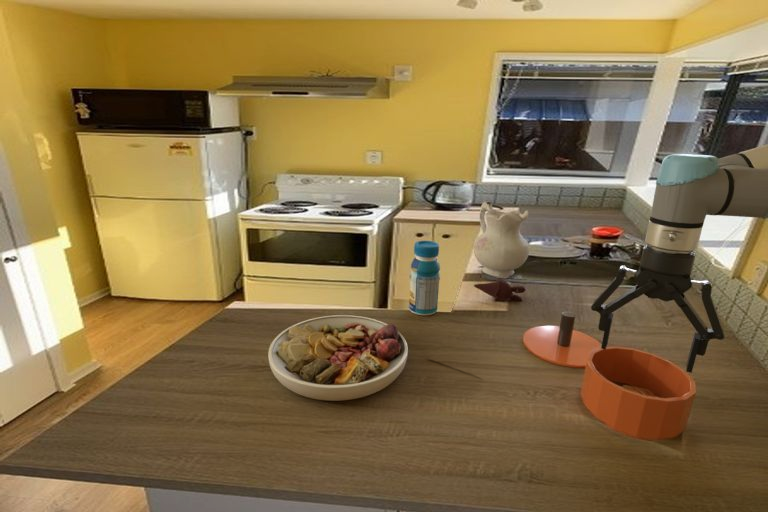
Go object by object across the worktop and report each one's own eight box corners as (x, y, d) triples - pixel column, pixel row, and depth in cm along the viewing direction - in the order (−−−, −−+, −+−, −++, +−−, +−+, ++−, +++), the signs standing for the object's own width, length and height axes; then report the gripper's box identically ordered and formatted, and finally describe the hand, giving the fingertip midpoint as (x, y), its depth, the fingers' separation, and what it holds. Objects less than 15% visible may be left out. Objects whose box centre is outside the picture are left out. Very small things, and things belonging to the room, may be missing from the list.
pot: (684, 402, 85) (695, 365, 82) (683, 456, 71) (696, 414, 68) (589, 372, 94) (596, 338, 91) (572, 415, 80) (579, 376, 78)
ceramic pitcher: (456, 270, 157) (458, 205, 148) (487, 256, 169) (490, 195, 160) (507, 288, 142) (513, 217, 133) (537, 271, 154) (544, 204, 145)
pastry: (638, 391, 87) (642, 375, 86) (668, 413, 81) (673, 396, 79) (601, 399, 84) (605, 382, 83) (628, 422, 78) (633, 404, 77)
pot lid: (610, 344, 106) (618, 310, 103) (598, 380, 91) (606, 342, 88) (534, 323, 116) (539, 292, 113) (512, 352, 101) (517, 317, 98)
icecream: (474, 283, 126) (526, 293, 122) (476, 269, 132) (526, 278, 128) (470, 301, 129) (521, 311, 126) (473, 287, 135) (521, 296, 132)
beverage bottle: (426, 319, 116) (430, 250, 110) (402, 310, 122) (405, 243, 115) (443, 309, 123) (448, 243, 116) (419, 301, 128) (423, 237, 121)
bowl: (286, 427, 75) (283, 389, 73) (259, 346, 101) (257, 316, 99) (432, 387, 87) (434, 354, 85) (375, 324, 113) (375, 297, 111)
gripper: (586, 240, 76) (569, 345, 82) (768, 268, 62) (731, 390, 69) (593, 231, 82) (577, 330, 88) (762, 255, 68) (727, 369, 75)
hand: (644, 357), depth 79 cm, fingers open, 13 cm apart
